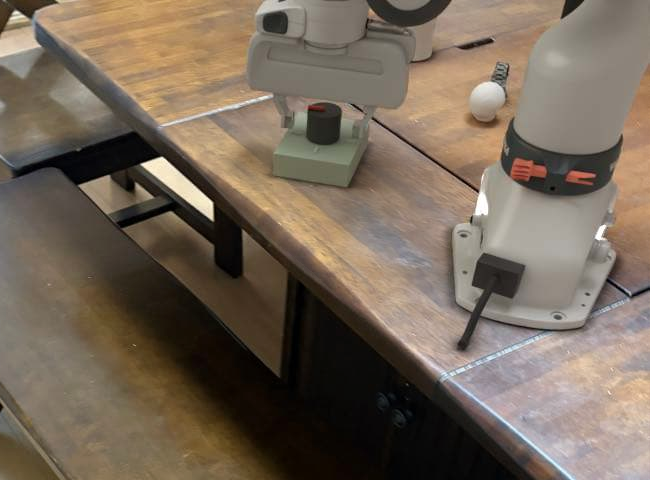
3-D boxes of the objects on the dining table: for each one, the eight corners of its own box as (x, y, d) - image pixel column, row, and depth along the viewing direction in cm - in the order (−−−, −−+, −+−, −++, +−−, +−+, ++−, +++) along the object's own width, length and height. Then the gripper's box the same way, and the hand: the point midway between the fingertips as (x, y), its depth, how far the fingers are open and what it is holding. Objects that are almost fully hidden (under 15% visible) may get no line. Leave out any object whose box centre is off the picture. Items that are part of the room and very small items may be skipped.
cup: (372, 63, 135) (383, -37, 124) (382, 36, 141) (393, -61, 131) (440, 70, 133) (457, -30, 123) (447, 43, 140) (463, -55, 129)
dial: (342, 131, 115) (345, 101, 112) (336, 147, 112) (338, 117, 109) (309, 127, 115) (311, 97, 112) (302, 142, 113) (304, 113, 110)
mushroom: (499, 129, 121) (507, 92, 118) (464, 125, 122) (471, 89, 118) (501, 113, 124) (509, 77, 121) (467, 109, 125) (474, 73, 121)
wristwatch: (482, 106, 129) (486, 90, 124) (494, 72, 128) (499, 55, 123) (502, 112, 128) (507, 96, 123) (514, 77, 128) (520, 60, 123)
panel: (347, 187, 112) (349, 164, 109) (272, 175, 113) (273, 151, 111) (367, 144, 119) (370, 121, 116) (297, 133, 121) (298, 110, 118)
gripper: (423, 14, 102) (406, 132, 113) (256, -5, 106) (255, 110, 117) (413, 35, 98) (397, 154, 109) (241, 14, 102) (241, 131, 113)
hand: (322, 131), depth 113 cm, fingers open, 8 cm apart
